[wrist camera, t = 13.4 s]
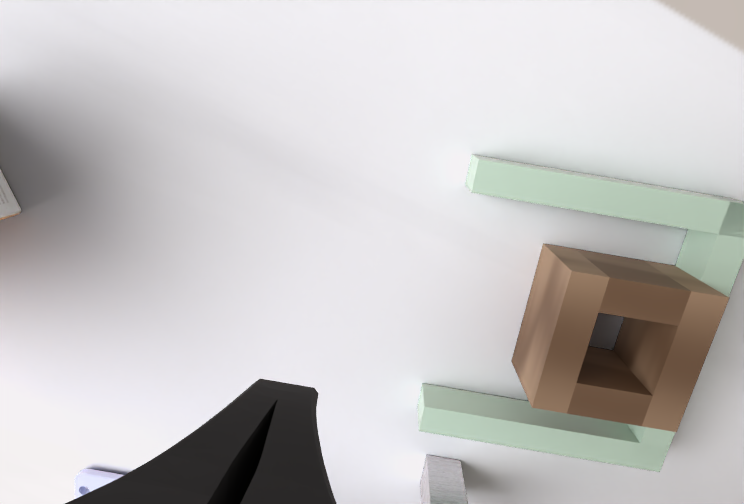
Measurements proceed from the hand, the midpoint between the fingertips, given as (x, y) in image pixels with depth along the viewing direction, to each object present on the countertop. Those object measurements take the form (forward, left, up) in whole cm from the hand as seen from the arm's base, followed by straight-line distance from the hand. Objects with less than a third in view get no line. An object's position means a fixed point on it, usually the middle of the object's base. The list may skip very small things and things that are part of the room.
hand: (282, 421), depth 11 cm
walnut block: (0, -11, -10) cm, 15 cm away
